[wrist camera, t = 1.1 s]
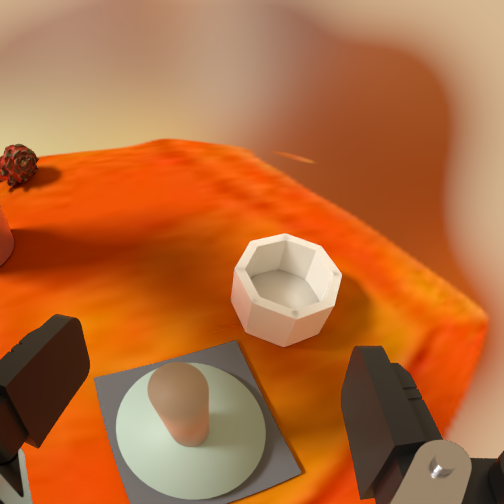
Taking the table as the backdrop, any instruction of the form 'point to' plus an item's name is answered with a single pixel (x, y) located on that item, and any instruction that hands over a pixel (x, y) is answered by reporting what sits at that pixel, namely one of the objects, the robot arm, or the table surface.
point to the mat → (233, 362)
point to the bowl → (284, 289)
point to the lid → (190, 430)
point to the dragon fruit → (17, 164)
